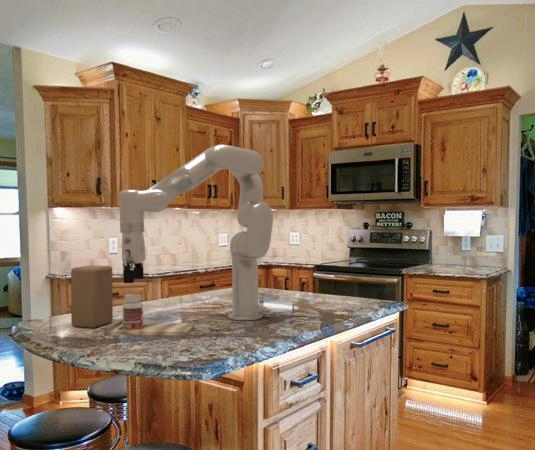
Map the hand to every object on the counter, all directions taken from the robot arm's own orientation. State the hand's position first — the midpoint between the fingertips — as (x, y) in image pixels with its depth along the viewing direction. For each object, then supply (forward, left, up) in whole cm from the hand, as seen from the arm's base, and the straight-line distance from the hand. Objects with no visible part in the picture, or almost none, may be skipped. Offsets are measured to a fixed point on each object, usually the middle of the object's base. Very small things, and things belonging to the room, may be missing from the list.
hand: (134, 280), depth 148 cm
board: (-6, 0, -16) cm, 17 cm away
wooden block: (+17, -9, -17) cm, 26 cm away
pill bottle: (0, 0, -16) cm, 16 cm away
